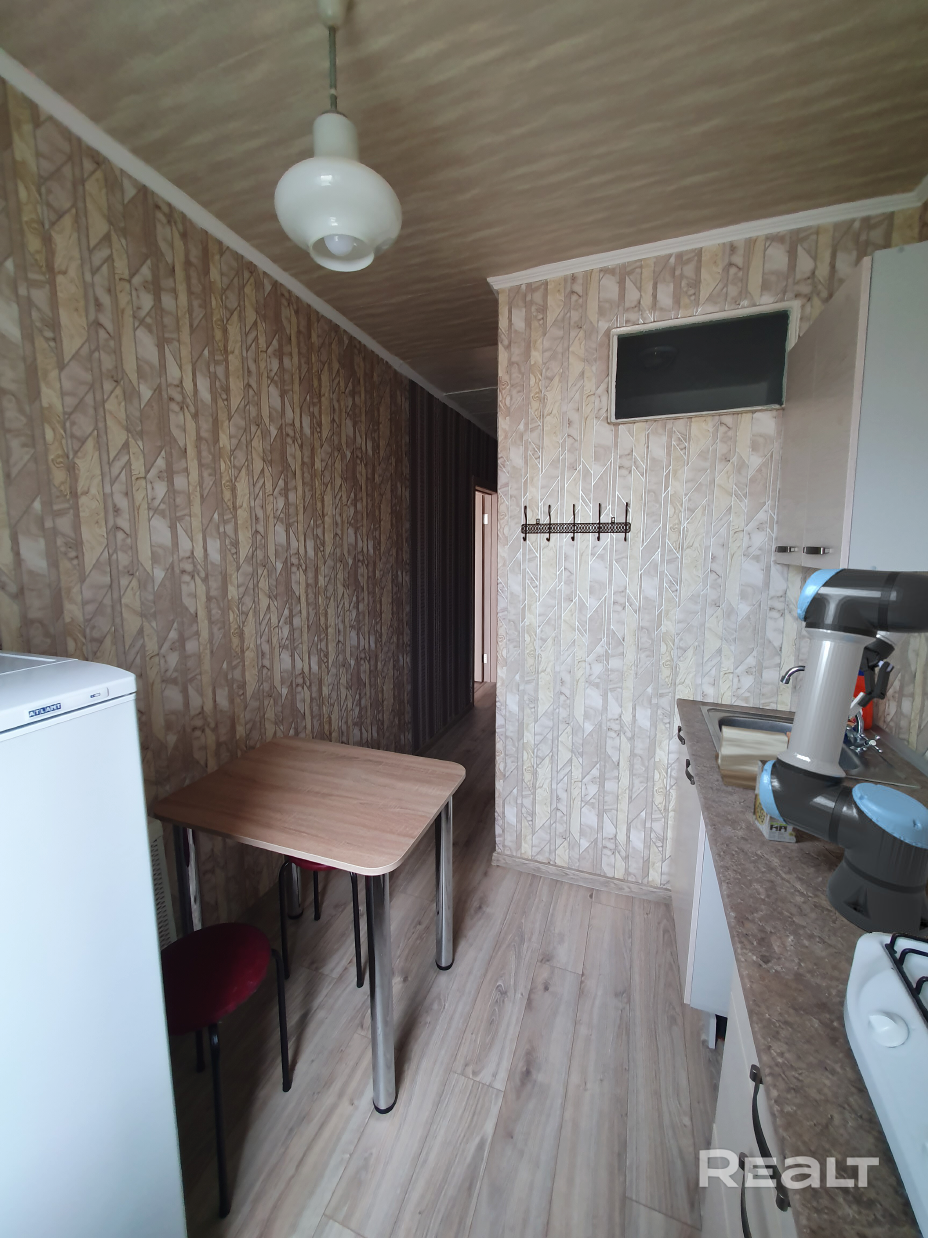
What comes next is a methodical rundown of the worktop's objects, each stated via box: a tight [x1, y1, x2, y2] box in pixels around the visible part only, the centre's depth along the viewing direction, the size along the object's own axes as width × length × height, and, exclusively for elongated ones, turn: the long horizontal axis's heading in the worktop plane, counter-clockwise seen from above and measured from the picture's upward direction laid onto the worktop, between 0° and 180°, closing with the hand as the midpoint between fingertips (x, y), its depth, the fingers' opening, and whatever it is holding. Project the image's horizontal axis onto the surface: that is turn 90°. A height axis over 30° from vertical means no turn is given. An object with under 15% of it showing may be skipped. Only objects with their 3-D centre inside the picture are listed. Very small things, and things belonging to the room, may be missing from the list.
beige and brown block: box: [714, 725, 788, 791], centre depth 137 cm, size 18×26×14 cm
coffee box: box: [752, 760, 798, 844], centre depth 113 cm, size 9×6×16 cm
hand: (826, 703), depth 131 cm, fingers open, 13 cm apart
